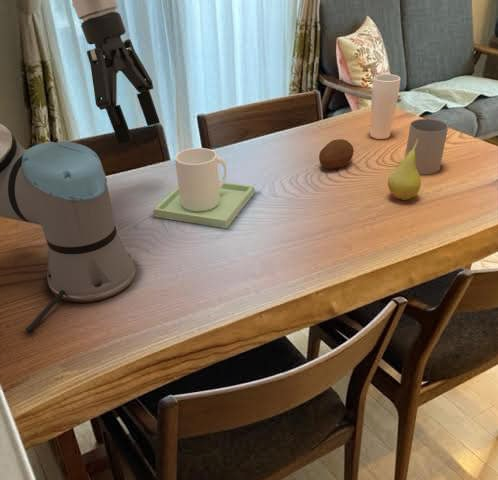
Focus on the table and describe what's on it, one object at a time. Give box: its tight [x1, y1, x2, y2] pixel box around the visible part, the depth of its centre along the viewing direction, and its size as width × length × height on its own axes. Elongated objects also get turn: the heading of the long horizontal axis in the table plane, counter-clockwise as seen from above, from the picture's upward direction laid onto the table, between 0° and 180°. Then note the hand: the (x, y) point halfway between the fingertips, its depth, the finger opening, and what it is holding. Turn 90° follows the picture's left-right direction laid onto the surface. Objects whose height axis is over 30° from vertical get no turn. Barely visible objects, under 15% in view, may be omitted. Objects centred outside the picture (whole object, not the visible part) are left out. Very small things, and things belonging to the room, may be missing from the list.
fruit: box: [387, 138, 422, 201], centre depth 114 cm, size 7×8×12 cm
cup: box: [404, 118, 449, 175], centre depth 126 cm, size 8×8×10 cm
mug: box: [174, 147, 227, 212], centre depth 115 cm, size 9×12×11 cm
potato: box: [318, 138, 355, 170], centre depth 130 cm, size 7×10×6 cm
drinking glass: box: [369, 73, 401, 140], centre depth 140 cm, size 7×7×15 cm
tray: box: [152, 180, 255, 229], centre depth 117 cm, size 17×17×2 cm
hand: (140, 132), depth 109 cm, fingers open, 13 cm apart
